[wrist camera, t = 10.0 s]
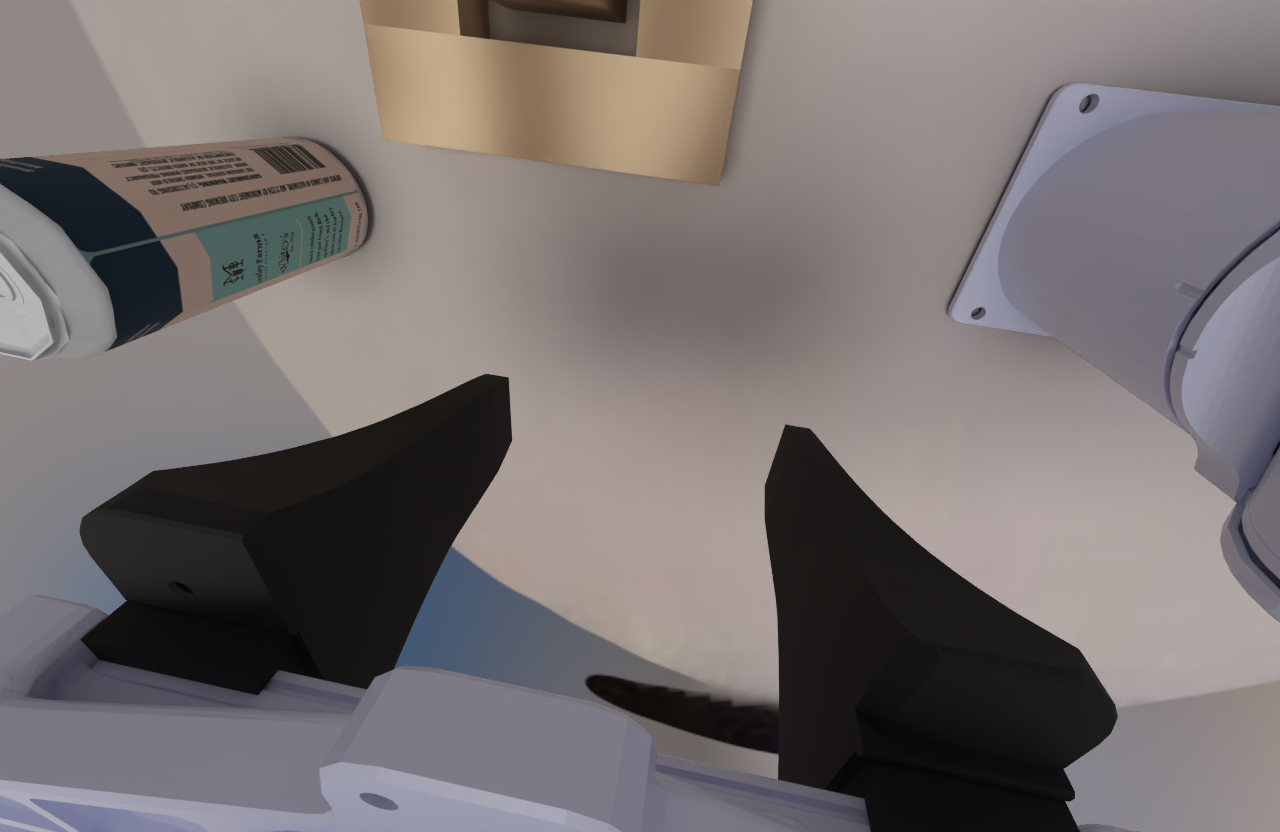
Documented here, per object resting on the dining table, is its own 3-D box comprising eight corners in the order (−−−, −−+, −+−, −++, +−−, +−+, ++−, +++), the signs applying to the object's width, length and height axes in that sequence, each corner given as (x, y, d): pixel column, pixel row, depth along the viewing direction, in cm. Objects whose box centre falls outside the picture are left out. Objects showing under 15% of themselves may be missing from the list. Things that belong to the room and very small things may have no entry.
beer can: (247, 147, 20) (-211, 189, 10) (341, 125, 19) (-67, 148, 9) (306, 261, 23) (-17, 382, 13) (393, 247, 22) (114, 367, 12)
